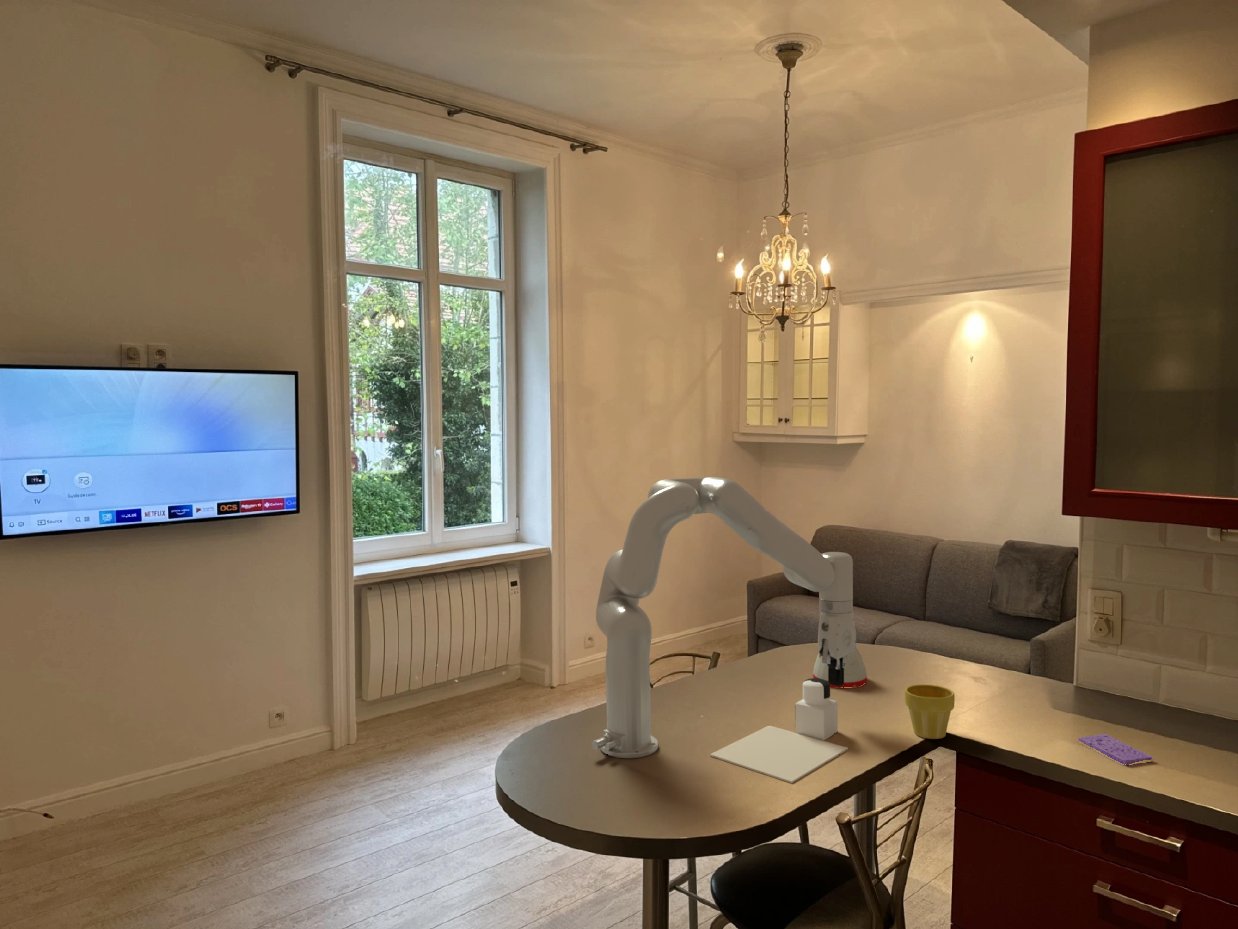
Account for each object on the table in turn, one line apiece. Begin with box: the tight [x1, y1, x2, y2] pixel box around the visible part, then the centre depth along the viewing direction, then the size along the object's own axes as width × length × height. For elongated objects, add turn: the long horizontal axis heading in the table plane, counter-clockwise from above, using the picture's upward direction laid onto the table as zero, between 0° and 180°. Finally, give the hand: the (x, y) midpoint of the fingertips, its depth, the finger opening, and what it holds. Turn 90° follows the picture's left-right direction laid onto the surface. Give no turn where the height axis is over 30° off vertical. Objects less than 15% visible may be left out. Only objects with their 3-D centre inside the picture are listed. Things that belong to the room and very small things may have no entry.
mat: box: [709, 725, 849, 784], centre depth 180 cm, size 22×20×1 cm
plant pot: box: [904, 683, 955, 740], centre depth 188 cm, size 10×10×10 cm
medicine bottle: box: [794, 677, 839, 741], centre depth 190 cm, size 7×7×12 cm
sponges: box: [1078, 733, 1153, 766], centre depth 177 cm, size 7×13×2 cm, turn 13°
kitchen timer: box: [812, 647, 868, 689], centre depth 227 cm, size 14×14×15 cm
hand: (836, 684), depth 196 cm, fingers closed
